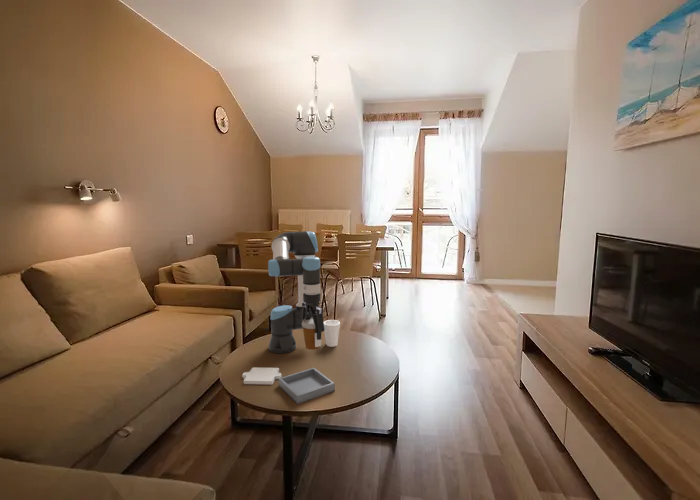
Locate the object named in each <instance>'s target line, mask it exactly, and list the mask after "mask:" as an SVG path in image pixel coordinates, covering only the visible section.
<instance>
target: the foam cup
mask: <svg viewBox="0 0 700 500" xmlns="http://www.w3.org/2000/svg"><path fill="white" fill-rule="evenodd" d="M323 322H324V331H323V332H324V339H325V344H326V346H327V347H329V348H330V347H331V348H333V347H334V348H335V347H337V346H338V342H339V334H340V328H341V322H340V320H338V319H337V320H336V319H328V320H323Z"/></svg>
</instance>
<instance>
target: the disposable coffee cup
mask: <svg viewBox="0 0 700 500" xmlns="http://www.w3.org/2000/svg"><path fill="white" fill-rule="evenodd" d="M302 327H303V329H302V331H303V338H304V343H305V349H307V350H312V351H314V350H319V349H320V348H321V346H319V347H315V332H316V330H315V324H314V321H313V318H311V319H308V320H306V319H304V320H303V321H302ZM322 333H323V332H321V334H322Z"/></svg>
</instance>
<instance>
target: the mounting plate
mask: <svg viewBox="0 0 700 500" xmlns="http://www.w3.org/2000/svg"><path fill="white" fill-rule="evenodd" d="M279 378H282V373H281V372H280V368H279V367H257V366H256V367H252V368H251V369H250V370H249V371H244V372H243V373H242V379H243V385H273V384H274V382H275V380H279Z"/></svg>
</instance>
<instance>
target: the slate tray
mask: <svg viewBox="0 0 700 500" xmlns="http://www.w3.org/2000/svg"><path fill="white" fill-rule="evenodd" d="M278 387H279V388H280V389H281V390H282V391H284V393H286V395H288V396H289V397H290V398H291V400H293V401H294V403H296V404H297V405H300V404H302V403H305V402H308V401H310V400H313V399H316V398H319V397H321V396H324V395H327V394H330V393H332V392H335V389H336V383H335V382H334V381H332V380H331V379H330V378H329V377H327V376H326V375H325V374H324V373H322V372H321V371H319V370H318V369H317V368H315V367H311V368H308V369H305V370H301V371H299V372H295V373H292V374H289V375H286V376H281V378H279V379H278Z"/></svg>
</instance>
